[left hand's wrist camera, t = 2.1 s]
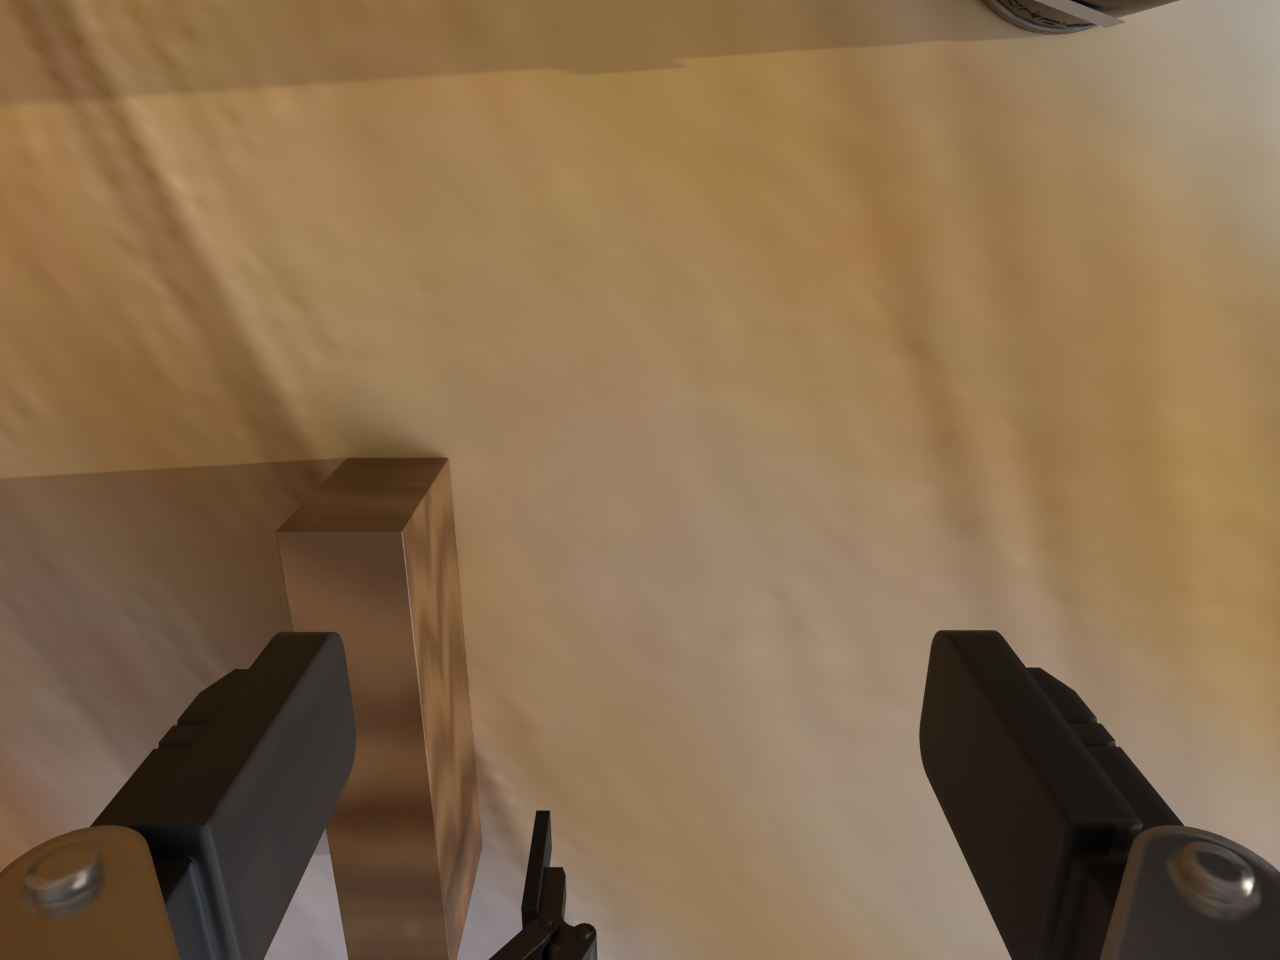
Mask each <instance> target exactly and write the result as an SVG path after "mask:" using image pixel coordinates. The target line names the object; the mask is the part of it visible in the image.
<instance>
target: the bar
mask: <svg viewBox="0 0 1280 960" xmlns="http://www.w3.org/2000/svg"><path fill="white" fill-rule="evenodd" d="M276 535H277V541H278V547H279V553H280V559H281V565H282V570H283V576H284V582H285V588H286V594H287V600H288V606H289V612H290V618H291V624H292V629H293V632H337V633H338V634H339V635H340V636H341V638H342V641H343V644H344V649H345V656H346V662H347V669H348V676H349V683H350V690H351V697H352V704H353V711H354V717H355V724H356V751H355V757H354V763H353V767H352V770H351V773H350V776H349V778H348V780H347V783H346V785H345V787H344V789H343V791H342V793H341V795H340V797H339V800H338V802H337V804H336V806H335V808H334V810H333V812H332V814H331V817H330V819H329V821H328V823H327V825H326V830H327V836H328V842H329V848H330V854H331V859H332V865H333V871H334V877H335V883H336V889H337V895H338V901H339V907H340V913H341V918H342V924H343V930H344V936H345V942H346V948H347V954H348V960H457V955H458V951H459V947H460V942H461V938H462V934H463V929H464V925H465V920H466V916H467V912H468V907H469V903H470V899H471V894H472V890H473V885H474V881H475V877H476V872H477V868H478V864H479V859H480V855H481V850H482V841H481V829H480V817H479V806H478V794H477V783H476V771H475V759H474V748H473V736H472V725H471V713H470V701H469V690H468V678H467V667H466V655H465V643H464V632H463V620H462V609H461V597H460V585H459V574H458V562H457V551H456V539H455V527H454V516H453V504H452V493H451V481H450V469H449V459H448V458H347V459H346V460H345V461H344V462H343V463H342V464H341V465H340V466H339V467H338V468H337V469H336V470H335V471H334V472H333V473H332V474H331V475H330V476H329V477H328V478H327V479H326V480H325V482H324V483H323V484H322V485H321V486H320V487H319V488H318V489H317V490H316V491H315V492H314V493H313V494H312V495H311V496H310V497H309V498H308V499H307V500H306V501H305V502H304V503H303V504H302V505H301V506H300V507H299V508H298V509H297V510H296V511H295V512H294V513H293V514H292V515H291V517H290V518H289V519H288V520H287V521H286V522H285V523H284V524H283V525H282V526H281V527H280V528H279V529H278V530H277V531H276Z"/></svg>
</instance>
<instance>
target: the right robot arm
mask: <svg viewBox="0 0 1280 960" xmlns="http://www.w3.org/2000/svg"><path fill="white" fill-rule="evenodd" d="M551 851H552V842H551V822H550V811H536V817H535V823H534V830H533V836H532V843H531V849H530V856H529V862H528V868H527V875H526V881H525V888H524V894H523V901H522V907H521V911H522V926H523V930H522V931H520V932H519V933H518V934H517V935H516V936H515V937H514V938H513V939H511V940H510V941H509V942H508V943H507V944H506V945H505V946H504V947H502V948H501V949H500V950H499V951H498V952H497V953H496V954H495V955H493V956H492V957H491V958H490V959H489V960H597V939H596V930H595V928H594V927H593V926H592V925H590V924H587V923H582V924H579V925H577V926H575V927H573V926H571V925H568V924H567V923H566V922H565V921H564V915H565V904H566V875H565V872H564V870H563V867H550V859H551Z"/></svg>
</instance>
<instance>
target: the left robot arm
mask: <svg viewBox="0 0 1280 960" xmlns="http://www.w3.org/2000/svg"><path fill="white" fill-rule="evenodd" d="M982 1H983V2H984V3H985V4H986V5H987V6H988V8H989V9H991V10H992V11H993V12H994V13H995V14H996V15H997V16H999V17H1000V18H1002V19H1003V20H1005V21H1006V22H1008V23H1010V24H1012V25H1014V26H1016V27H1018V28H1021V29H1023V30H1026V31H1030V32H1034V33H1040V34H1052V35H1059V34H1069V33H1074V32H1079V31H1083V30H1087V29H1090V28H1093V27H1097V26H1102V27H1104V28H1107V27H1110V26H1114V25H1117V24H1121V23H1125V22H1124V21H1122V20H1119V19H1116V18H1118V17H1122V16H1125V15H1130V14H1134V13H1137V12H1141V11H1144V10H1148V9H1151V8H1155V7H1158V6H1162V5H1165V4H1168V3H1172V2H1175V1H1179V0H982ZM919 739H920V751H921V757H922V762H923V766H924V769H925V772H926V775H927V777H928V779H929V782H930V784H931V786H932V788H933V790H934V792H935V795H936V797H937V799H938V801H939V803H940V805H941V807H942V810H943V812H944V814H945V816H946V818H947V820H948V823H949V825H950V827H951V829H952V831H953V833H954V836H955V838H956V840H957V842H958V844H959V846H960V848H961V851H962V853H963V855H964V857H965V859H966V861H967V864H968V866H969V868H970V870H971V872H972V874H973V877H974V879H975V881H976V883H977V885H978V887H979V889H980V892H981V894H982V896H983V898H984V900H985V902H986V905H987V907H988V909H989V911H990V913H991V915H992V918H993V920H994V922H995V924H996V926H997V928H998V930H999V933H1000V935H1001V937H1002V939H1003V941H1004V943H1005V946H1006V948H1007V950H1008V952H1009V954H1010V956H1011V959H1012V960H1280V872H1279V871H1278V870H1277V869H1275V868H1274V867H1273V866H1272V865H1271V864H1269V863H1268V862H1267V861H1266V860H1264V859H1263V858H1262V857H1260V856H1259V855H1257V854H1255V853H1254V852H1252V851H1251V850H1249V849H1247V848H1246V847H1244V846H1242V845H1240V844H1238V843H1236V842H1234V841H1232V840H1230V839H1227V838H1225V837H1223V836H1220V835H1217V834H1214V833H1211V832H1208V831H1205V830H1201V829H1197V828H1193V827H1186V826H1184V825H1183V824H1182V822H1181V821H1180V820H1179V819H1178V817H1177V816H1176V815H1175V814H1174V812H1173V811H1172V810H1171V809H1170V808H1169V806H1168V805H1167V804H1166V803H1165V801H1164V800H1163V799H1162V798H1161V796H1160V795H1159V794H1158V793H1157V792H1156V790H1155V789H1154V788H1153V787H1152V785H1151V784H1150V783H1149V782H1148V781H1147V779H1146V778H1145V777H1144V776H1143V774H1142V773H1141V772H1140V771H1139V769H1138V768H1137V767H1136V766H1135V765H1134V763H1133V762H1132V761H1131V760H1130V758H1129V757H1128V756H1127V755H1126V753H1125V752H1124V751H1123V750H1122V749H1121V747H1116V745H1115V740H1114V739H1113V738H1112V736H1111V735H1110V734H1109V733H1108V731H1107V730H1106V729H1105V728H1104V726H1103V725H1102V724H1098V723H1097V718H1096V717H1095V715H1094V714H1093V713H1092V712H1091V710H1090V709H1089V708H1088V707H1087V706H1086V704H1085V703H1084V702H1083V701H1082V699H1081V698H1080V697H1079V696H1078V694H1077V693H1076V692H1075V691H1074V690H1072V689H1071V688H1070V687H1068V686H1067V685H1065V684H1064V683H1062V682H1061V681H1059V680H1058V679H1056V678H1055V677H1053V676H1052V675H1050V674H1049V673H1047V672H1046V671H1044V670H1043V669H1041V668H1026V667H1025V666H1024V664H1023V663H1022V662H1021V660H1020V659H1019V658H1018V656H1017V655H1016V654H1015V652H1014V651H1013V650H1012V648H1011V647H1010V646H1009V644H1008V643H1007V642H1006V640H1005V639H1004V638H1003V636H1002V635H1001V634H1000V633H999V632H997V631H994V630H941V631H938V632H937V633H936V634H935V636H934V638H933V641H932V645H931V651H930V658H929V665H928V672H927V679H926V686H925V693H924V700H923V707H922V714H921V721H920V732H919ZM355 751H356V724H355V717H354V711H353V704H352V697H351V690H350V683H349V676H348V669H347V662H346V656H345V649H344V644H343V641H342V638H341V636H340V635H339V634H338V633H337V632H279V633H277V634H276V635H275V636H274V637H273V638H272V639H271V641H270V642H269V643H268V645H267V646H266V647H265V649H264V650H263V651H262V652H261V654H260V655H259V656H258V658H257V659H256V660H255V662H254V663H253V664H252V666H251V667H250V668H249V669H235V670H233V671H232V672H230V673H229V674H227V675H226V676H224V677H223V678H221V679H220V680H218V681H217V682H215V683H214V684H212V685H211V686H209V687H208V688H206V689H205V690H203V691H202V692H200V693H199V695H198V696H197V697H196V698H195V699H194V701H193V702H192V703H191V704H190V705H189V707H188V708H187V709H186V710H185V712H184V713H183V714H182V715H181V716H180V718H179V719H178V723H177V726H172V727H171V729H170V730H169V731H168V732H167V733H166V735H165V736H164V737H163V738H162V740H161V741H160V742H159V747H158V749H153V751H152V752H151V753H150V754H149V755H148V757H147V758H146V759H145V760H144V762H143V763H142V764H141V765H140V766H139V768H138V769H137V770H136V771H135V772H134V774H133V775H132V776H131V777H130V779H129V780H128V781H127V782H126V783H125V785H124V786H123V787H122V788H121V790H120V791H119V792H118V793H117V794H116V796H115V797H114V798H113V799H112V800H111V802H110V803H109V804H108V805H107V807H106V808H105V809H104V810H103V811H102V813H101V814H100V815H99V816H98V818H97V819H96V820H95V821H94V822H93V824H92V825H91V826H90V827H87V828H83V829H79V830H75V831H72V832H69V833H66V834H63V835H60V836H57V837H55V838H53V839H50V840H48V841H46V842H44V843H42V844H40V845H38V846H36V847H34V848H33V849H31V850H29V851H28V852H26V853H25V854H23V855H21V856H20V857H18V858H17V859H16V860H14V861H13V862H12V863H11V864H9V865H8V866H7V867H6V868H5V869H3V870H2V871H1V872H0V960H263V959H264V957H265V955H266V953H267V951H268V949H269V947H270V945H271V942H272V940H273V938H274V936H275V934H276V932H277V930H278V927H279V925H280V923H281V921H282V919H283V917H284V915H285V913H286V910H287V908H288V906H289V904H290V902H291V900H292V898H293V895H294V893H295V891H296V889H297V887H298V885H299V883H300V881H301V878H302V876H303V874H304V872H305V870H306V868H307V866H308V864H309V861H310V859H311V857H312V855H313V853H314V851H315V849H316V846H317V844H318V842H319V840H320V838H321V836H322V834H323V832H324V829H325V827H326V825H327V823H328V821H329V819H330V817H331V814H332V812H333V810H334V808H335V806H336V804H337V802H338V800H339V797H340V795H341V793H342V791H343V789H344V787H345V785H346V783H347V780H348V778H349V776H350V773H351V770H352V767H353V763H354V757H355Z"/></svg>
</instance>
